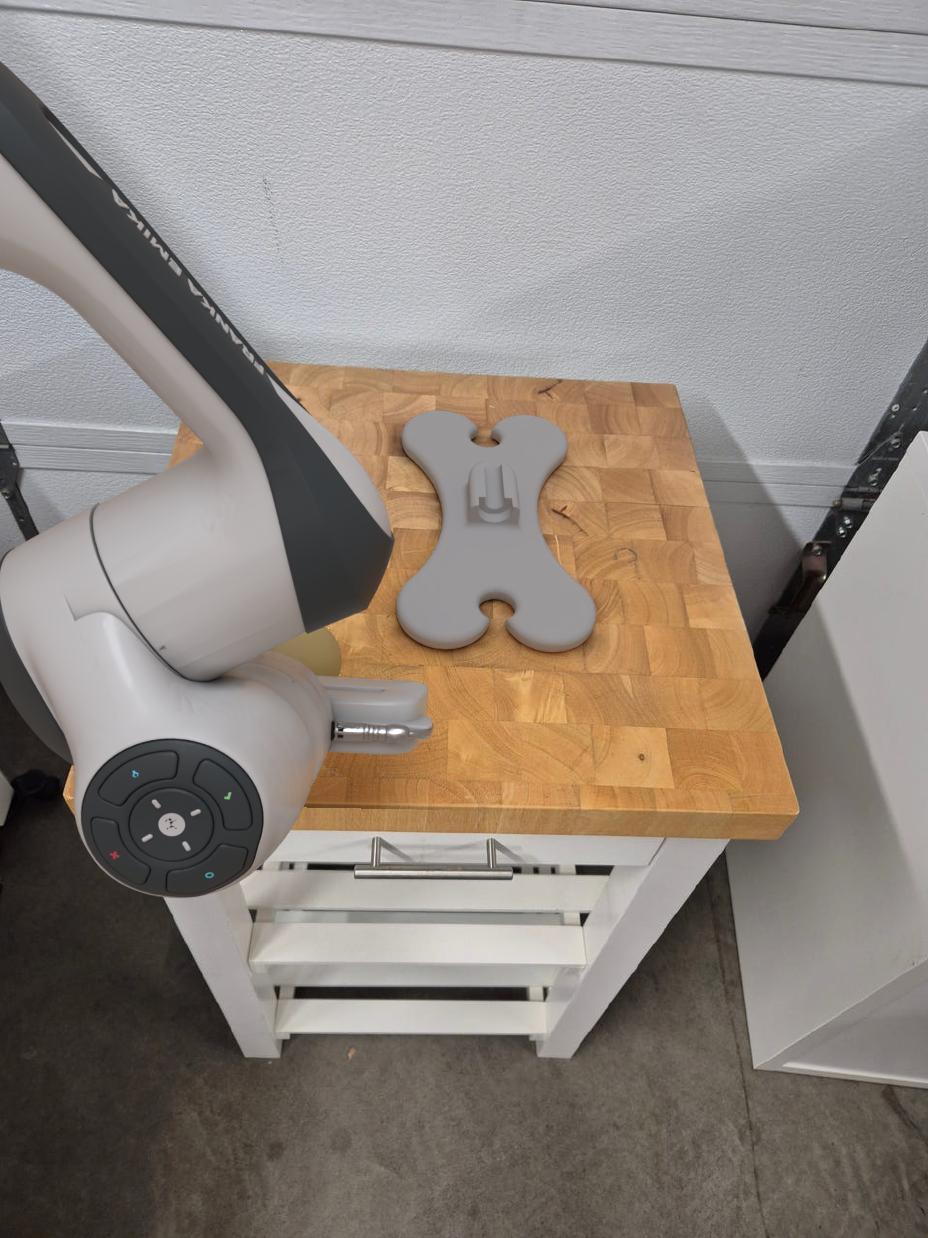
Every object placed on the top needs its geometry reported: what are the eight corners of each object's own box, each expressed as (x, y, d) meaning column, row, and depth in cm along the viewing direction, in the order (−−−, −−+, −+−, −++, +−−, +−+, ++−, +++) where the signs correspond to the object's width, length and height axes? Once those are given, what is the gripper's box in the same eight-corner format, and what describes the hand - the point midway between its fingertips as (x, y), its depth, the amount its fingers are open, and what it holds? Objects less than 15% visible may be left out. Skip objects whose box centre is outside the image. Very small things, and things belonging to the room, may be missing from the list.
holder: (561, 427, 98) (569, 392, 94) (599, 656, 76) (611, 623, 72) (402, 419, 96) (403, 383, 92) (395, 651, 75) (395, 616, 71)
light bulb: (272, 677, 72) (259, 604, 64) (345, 677, 72) (341, 605, 65) (265, 740, 68) (250, 670, 60) (343, 740, 68) (338, 671, 61)
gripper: (437, 685, 48) (434, 651, 61) (79, 665, 47) (158, 636, 60) (430, 790, 48) (429, 733, 62) (77, 773, 47) (156, 719, 61)
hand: (293, 685), depth 61 cm, fingers open, 8 cm apart
